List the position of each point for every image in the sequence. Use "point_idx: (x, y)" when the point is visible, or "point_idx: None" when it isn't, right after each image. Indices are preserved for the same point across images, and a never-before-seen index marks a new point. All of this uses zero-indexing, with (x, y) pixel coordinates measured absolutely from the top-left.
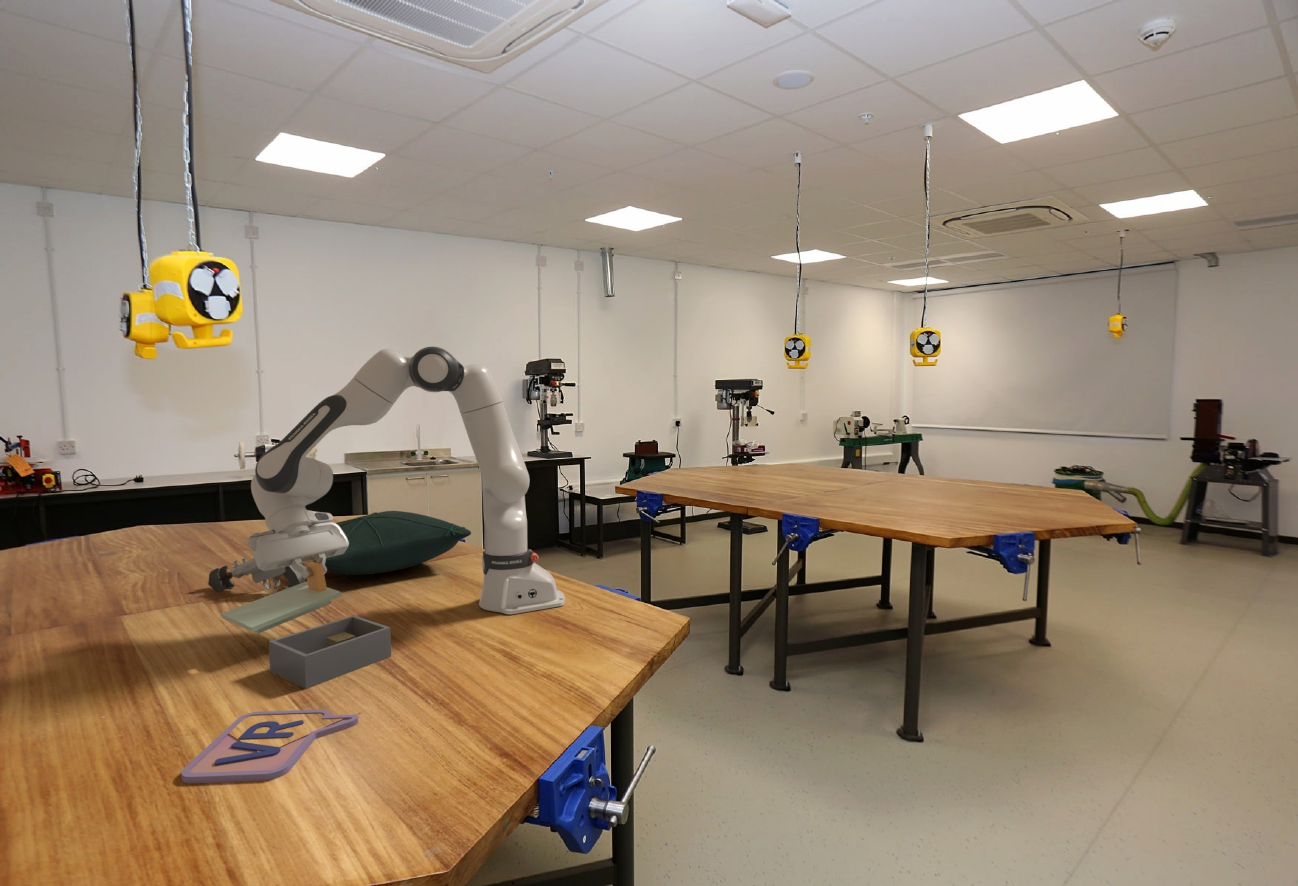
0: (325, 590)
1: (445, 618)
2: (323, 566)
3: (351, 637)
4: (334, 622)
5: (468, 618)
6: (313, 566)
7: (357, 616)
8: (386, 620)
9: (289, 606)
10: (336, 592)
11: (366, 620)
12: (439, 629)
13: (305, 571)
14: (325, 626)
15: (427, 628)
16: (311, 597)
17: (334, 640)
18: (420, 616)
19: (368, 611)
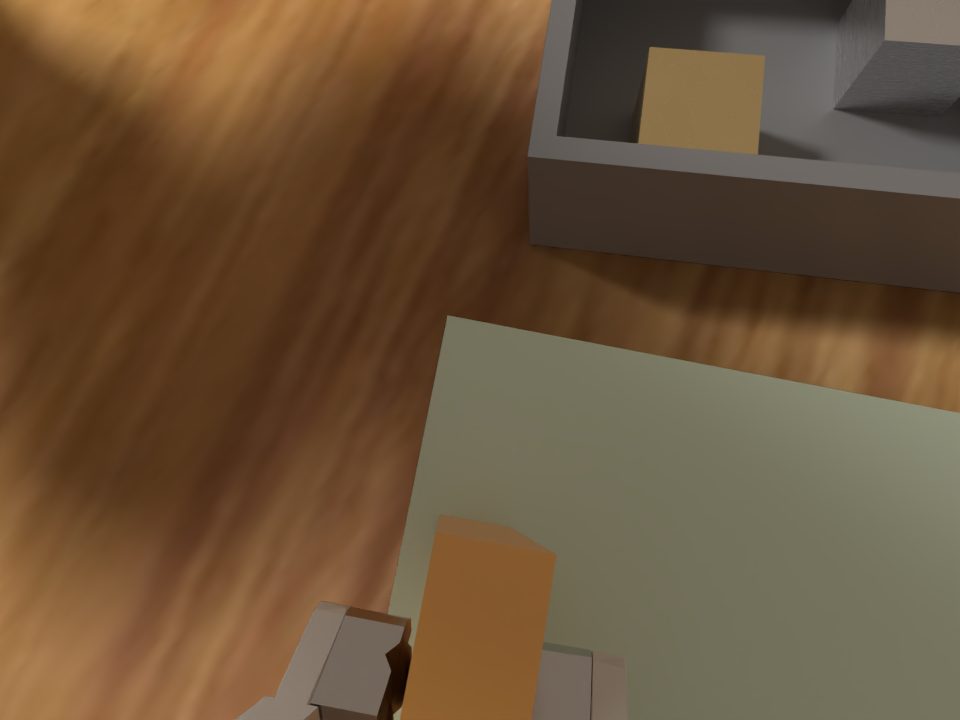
0: (466, 501)
1: (49, 149)
2: (324, 663)
3: (675, 49)
4: (688, 152)
5: (17, 57)
6: (544, 625)
7: (533, 119)
8: (172, 401)
9: (848, 524)
10: (471, 341)
11: (560, 16)
12: (188, 68)
13: (626, 709)
14: (757, 158)
15: (196, 125)
16: (636, 490)
17: (759, 85)
18: (61, 282)
19: (78, 635)
